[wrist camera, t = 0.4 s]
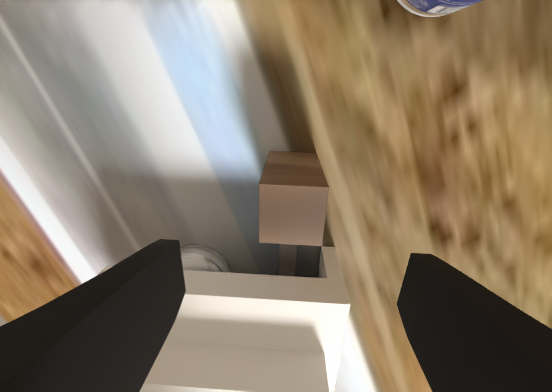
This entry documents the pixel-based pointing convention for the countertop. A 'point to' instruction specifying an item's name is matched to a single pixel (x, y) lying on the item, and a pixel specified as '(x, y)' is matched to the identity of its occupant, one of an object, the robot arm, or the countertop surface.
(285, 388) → the stepped stand
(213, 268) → the steel puck
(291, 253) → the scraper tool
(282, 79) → the countertop surface
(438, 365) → the robot arm
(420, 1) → the pill bottle
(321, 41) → the countertop surface
